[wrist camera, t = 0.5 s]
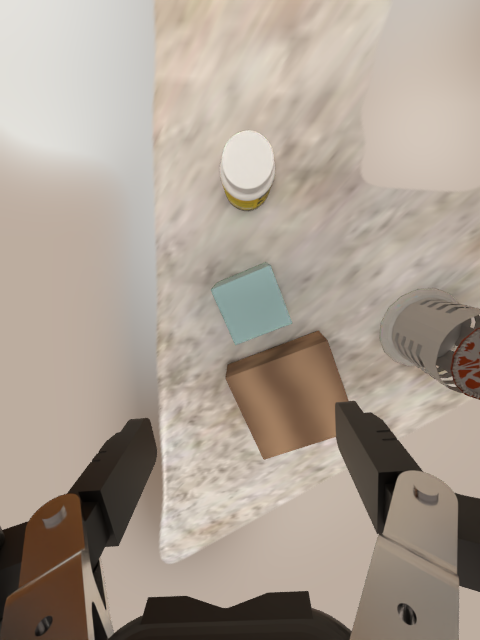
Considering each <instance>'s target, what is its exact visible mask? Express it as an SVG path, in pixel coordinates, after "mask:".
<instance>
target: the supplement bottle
mask: <svg viewBox="0 0 480 640" xmlns="http://www.w3.org/2000/svg"><path fill="white" fill-rule="evenodd" d="M274 177H275V161H274V154H273V150H272V147H271V145H270V143H269V142H268V140H267V139H266V138H265V137H264V136H263V135H261V134H260V133H258V132H255V131H250V130H247V131H241V132H238V133H236V134H235V135H233V136H232V137H231V138H230V139H229V140H228V142H227V143H226V145H225V147H224V149H223V153H222V159H221V162H220V178H221V182H222V185H223V187H224V190H225V194H226V196H227V198H228V200H229V202H230V203H231V204H232V205H233V206H234V207H236V208H237V209H240V210H243V211H251V210H254V209H256V208H258V207H260V206H261V205H262V204H263V203H264V201H265V200H266V198H267V196H268V194H269V191H270V188H271V186H272V183H273V181H274Z"/></svg>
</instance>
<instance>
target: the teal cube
mask: <svg viewBox="0 0 480 640" xmlns="http://www.w3.org/2000/svg"><path fill="white" fill-rule="evenodd" d="M211 291H212V294H213V296H214V298H215V300H216V303H217V305H218V307H219V309H220V312H221V314H222V316H223V319H224V321H225V323H226V325H227V328H228V330H229V332H230V334H231V337H232V339H233V341H234V343H235V345H237V344H240V343H242V342H245V341H248V340H250V339H253V338H256V337H258V336H261V335H263V334H266V333H269V332H271V331H274V330H276V329H279V328H282V327H284V326H287V325H289V324H292V321H291V319H290V316H289V313H288V311H287V308H286V305H285V303H284V300H283V297H282V295H281V292H280V289H279V287H278V284H277V281H276V279H275V276H274V274H273V271H272V268H271V266H270V265H269V264H268V263H266V262H265V263H263V264H260V265H258V266H255V267H253V268H251V269H248V270H246V271H244V272H241V273H239V274H236V275H234V276H232V277H229V278H227V279H224V280H222V281H220V282H217V283H216V285H215V286H214V287H213V288H212V289H211Z"/></svg>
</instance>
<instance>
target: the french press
mask: <svg viewBox="0 0 480 640" xmlns="http://www.w3.org/2000/svg"><path fill="white" fill-rule="evenodd" d="M464 307H466V308H464ZM479 314H480V309H478V308H474V307H470V306H466V305H461V304H459V303H458V302H457V301H456V300H455V299H454V298H453V296H452V295H451V294H449V293H446V292H444V291H441V290H439V289H436V288H430V289H417V290H415V291H412V292H410V293H408V294H405V295H403V296H401V297H400V298H399V299H398V300H397V301H396V302H395V303H394V304H393V305H391V306H390V307H389V308H388V310H387V312H386V314H385V316H384V318H383V320H382V322H381V328H380V341H381V343H382V346H383V349H384V352H385V353H387V354H388V355H389V356H390V357H391V358H392V359H393V360H394V361H395V362H398V363H401V364H404V365H407V366H417V367H418V368H420V369H421V370H423V371H424V372H425V371H426V372H425V373H427V374H429V375H430V376H431V377H433V378H434V379H436V380H438V381H439V382H440V383H441V384H443V385H445V386H446V387H448V388H449V389H452V390H454V391H457V392H459V393H464V394H465V395H467V396H470V397H473V398H476V399H479V400H480V316H479ZM472 317H474V318H475V321H476V323H475V327H474V329H473V328H470V325H471V318H472ZM455 345H456V346H458V348H457V349H456V351H455V352H453V351H451V350H452V349H453V348H454V346H455ZM436 365H438V366H439V368H436ZM423 367H425V369H424V368H423ZM444 370H446V371H447V372H448V373H445V374H443V375H439V374H438V372H441V371H444ZM451 376H453V380H452V381H442V380H441V379H440V378H448V377H451ZM446 384H455V385H456V386H457V387H451V386H448V385H446Z"/></svg>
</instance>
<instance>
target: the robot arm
mask: <svg viewBox="0 0 480 640" xmlns="http://www.w3.org/2000/svg"><path fill="white" fill-rule="evenodd" d="M335 425H336V439H337V444H338V448H339V450H340V453H341V455H342V457H343V459H344V462H345V464H346V466H347V468H348V470H349V473H350V475H351V477H352V479H353V481H354V483H355V486H356V488H357V490H358V492H359V495H360V497H361V499H362V501H363V504H364V506H365V508H366V510H367V512H368V515H369V517H370V519H371V521H372V524H373V525H374V528H375V530H376V532H377V534H379V535H378V538H377V541H376V545H375V548H374V552H373V555H372V559H371V563H370V566H369V570H368V574H367V577H366V581H365V585H364V588H363V592H362V596H361V600H360V603H359V607H358V610H357V614H356V618H355V622H354V625H353V629H352V631H351V630H350V629H348V628H347V627H346V626H345V625H343V624H342V623H341V622H339V621H338V620H336V619H335V618H333V617H332V616H330V615H328V614H326V613H324V612H322V611H320V610H316V609H313V608H311V604H310V598H309V592H308V591H299V592H275V593H266V594H263V595H261V596H259V597H256V598H253V599H250V600H248V601H245V602H243V603H240V604H238V605H235V606H232V607H230V608H221V607H218V606H215V605H212V604H209V603H206V602H203V601H200V600H197V599H194V598H191V597H188V596H174V597H149V598H148V600H147V603H146V607H145V610H144V614H143V616H140V617H138V618H136V619H134V620H133V621H131V622H129V623H127V624H126V625H124V626H123V627H122V628H120V629H119V630H117V632H115V633H114V630H113V626H112V622H111V616H110V610H109V604H108V598H107V592H106V585H105V580H104V572H103V566H102V561H101V558H100V556H101V554H102V552H103V550H104V548H105V547H110V546H119V543H120V541H121V539H122V537H123V535H124V532H125V530H126V528H127V526H128V523H129V521H130V519H131V517H132V514H133V512H134V510H135V507H136V505H137V503H138V501H139V499H140V496H141V494H142V492H143V489H144V487H145V485H146V483H147V480H148V478H149V476H150V474H151V471H152V469H153V467H154V465H155V462H156V457H157V448H156V443H155V439H154V435H153V431H152V426H151V422H150V420H149V419H148V418H141V419H131V420H129V421H128V422H127V423H126V425H125V426H124V428H123V429H122V431H121V432H119V433H116V434H115V435H114V436H112V437H111V438H110V439H109V440H107V441H106V442H105V444H104V445H103V446H102V448H101V449H100V451H99V453H98V454H96V456H95V457H94V458H93V460H92V462H90V464H89V465H88V466H87V468H86V469H85V471H84V472H83V473H82V474H81V476H80V477H79V478H78V480H77V481H76V482H75V484H74V485H73V486H72V488H71V489H70V490H69V492H68V493H67V494H64V495H61V496H58V497H56V498H54V499H52V500H50V501H49V502H47V503H46V504H44V505H43V506H42V507H40V508H39V509H38V510H37V511H36V512H35V513H34V515H33V516H32V517H31V518H30V520H29V521H28V522H25V523H22V524H19V525H16V526H13V527H10V528H7V529H4V530H2V529H1V527H0V640H459V586H462V587H465V588H469V589H472V590H475V591H478V592H480V499H479V498H474V497H469V496H464V495H460V494H457V493H454V492H453V491H452V489H451V488H450V487H449V486H448V485H447V484H446V483H444V482H443V481H442V480H440V479H438V478H437V477H435V476H433V475H431V474H428V473H425V472H423V471H422V470H421V468H420V467H419V466H418V465H417V463H416V462H415V461H414V459H413V458H412V457H411V456H410V454H409V453H408V452H407V451H406V449H405V448H404V447H403V446H402V444H401V443H400V442H399V440H397V438H396V437H395V435H394V434H393V433H392V432H391V431H390V429H389V428H388V426H387V425H386V424H385V423H384V421H383V420H382V419H380V418H379V417H377V416H376V415H374V414H373V413H371V412H370V413H363V411H362V410H361V409H360V407H359V406H358V404H357V403H356V402H355V401H347V402H336V403H335ZM382 533H383V534H382Z"/></svg>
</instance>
